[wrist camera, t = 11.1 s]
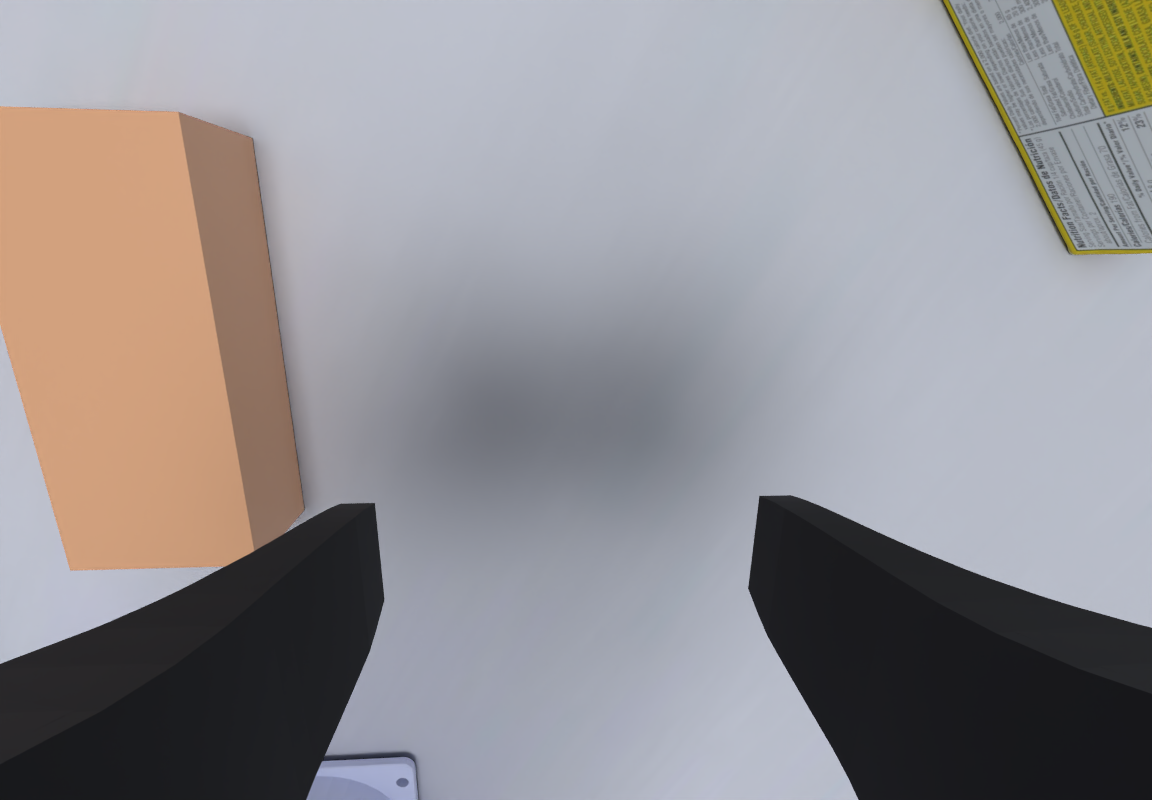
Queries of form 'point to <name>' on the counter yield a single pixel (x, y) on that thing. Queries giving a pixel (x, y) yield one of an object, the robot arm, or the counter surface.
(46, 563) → the counter surface
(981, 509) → the counter surface
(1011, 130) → the candy box
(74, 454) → the tan rectangular plank
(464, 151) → the counter surface
